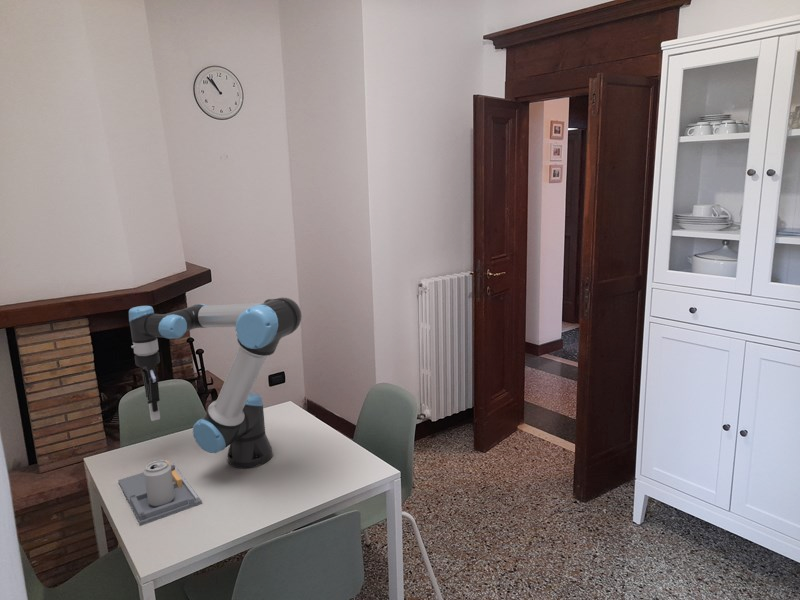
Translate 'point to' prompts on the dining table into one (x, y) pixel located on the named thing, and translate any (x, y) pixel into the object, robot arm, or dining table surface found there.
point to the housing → (148, 513)
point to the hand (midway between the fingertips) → (155, 419)
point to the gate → (175, 476)
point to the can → (159, 483)
